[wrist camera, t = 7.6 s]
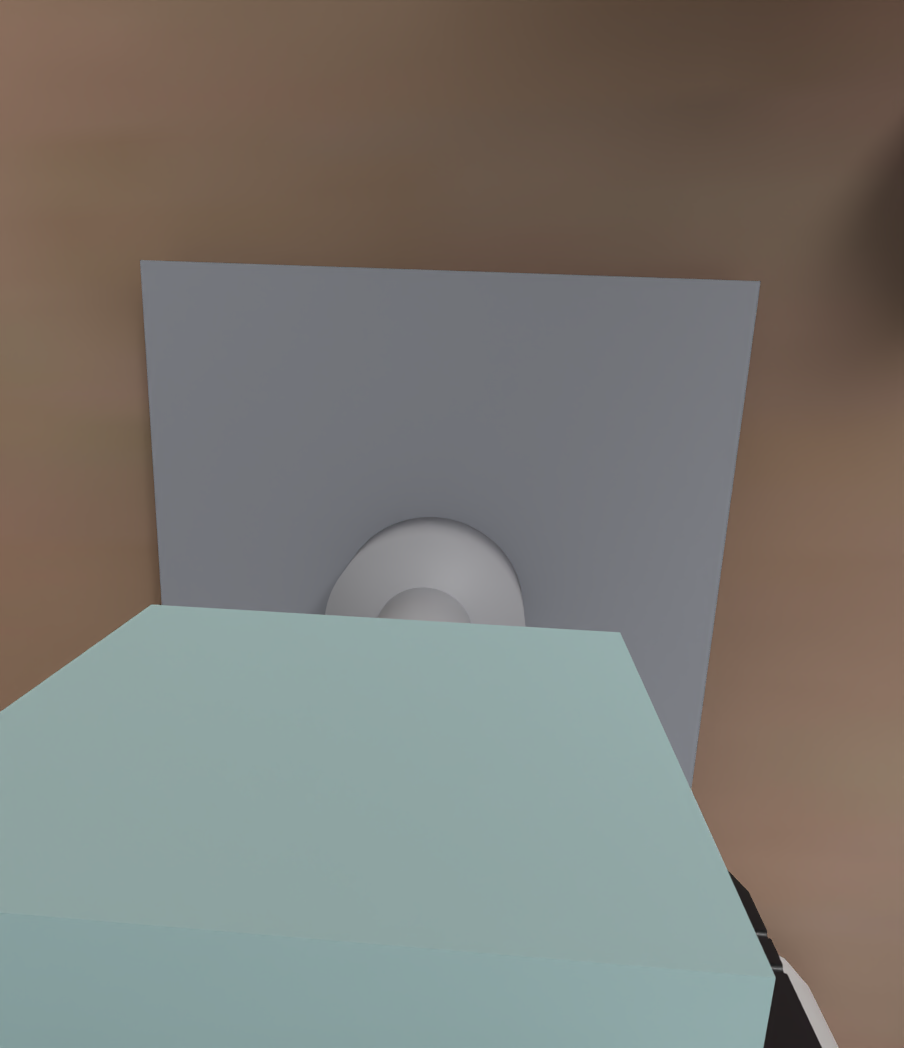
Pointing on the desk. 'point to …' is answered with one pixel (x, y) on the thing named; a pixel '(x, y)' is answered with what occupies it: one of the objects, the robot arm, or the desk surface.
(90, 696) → the collar
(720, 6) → the desk surface
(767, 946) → the robot arm
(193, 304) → the post block
